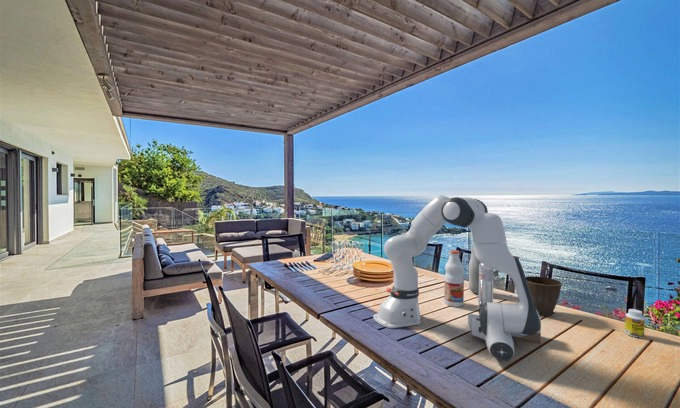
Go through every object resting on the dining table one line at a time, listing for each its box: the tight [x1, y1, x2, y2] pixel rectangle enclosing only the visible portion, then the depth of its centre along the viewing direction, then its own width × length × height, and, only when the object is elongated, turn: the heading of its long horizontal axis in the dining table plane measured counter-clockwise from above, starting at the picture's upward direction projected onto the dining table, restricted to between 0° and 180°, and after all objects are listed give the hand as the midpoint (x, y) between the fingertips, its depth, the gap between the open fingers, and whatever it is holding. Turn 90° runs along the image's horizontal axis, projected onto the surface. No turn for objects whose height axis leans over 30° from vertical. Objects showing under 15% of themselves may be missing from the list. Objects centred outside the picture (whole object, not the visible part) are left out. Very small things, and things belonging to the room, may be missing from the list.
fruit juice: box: [443, 249, 465, 308], centre depth 153 cm, size 9×9×28 cm
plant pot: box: [525, 275, 563, 317], centre depth 141 cm, size 15×15×16 cm
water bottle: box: [477, 263, 494, 307], centre depth 151 cm, size 7×7×25 cm
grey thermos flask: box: [468, 245, 480, 295], centre depth 169 cm, size 10×10×28 cm
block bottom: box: [514, 333, 542, 345], centre depth 117 cm, size 8×8×4 cm
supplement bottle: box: [624, 308, 646, 339], centre depth 119 cm, size 6×6×10 cm
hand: (493, 316), depth 124 cm, fingers closed on tall block, 5 cm apart
